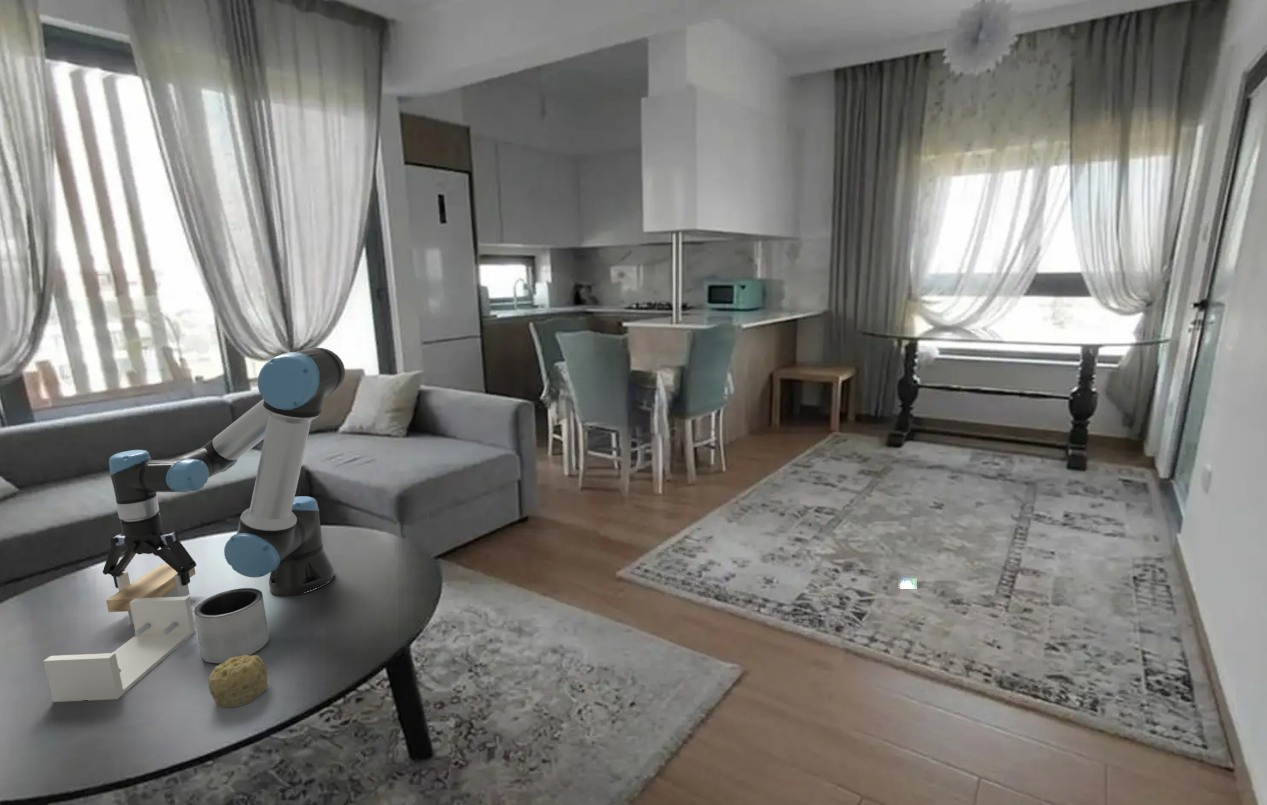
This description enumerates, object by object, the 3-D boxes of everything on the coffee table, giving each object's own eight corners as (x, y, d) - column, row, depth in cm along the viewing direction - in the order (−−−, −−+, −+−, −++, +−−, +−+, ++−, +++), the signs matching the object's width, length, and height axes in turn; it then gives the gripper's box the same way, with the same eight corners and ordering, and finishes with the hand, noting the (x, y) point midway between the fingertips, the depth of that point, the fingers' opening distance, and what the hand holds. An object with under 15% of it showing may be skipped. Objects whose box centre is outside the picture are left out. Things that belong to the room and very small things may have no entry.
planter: (197, 673, 127) (188, 623, 125) (206, 642, 138) (198, 596, 136) (268, 655, 133) (261, 607, 130) (271, 626, 144) (264, 582, 141)
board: (195, 573, 160) (193, 562, 159) (144, 610, 142) (142, 598, 142) (163, 575, 160) (161, 564, 159) (108, 612, 142) (106, 600, 141)
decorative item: (251, 695, 125) (213, 663, 123) (288, 666, 125) (250, 633, 123) (226, 729, 116) (184, 695, 114) (265, 698, 116) (224, 663, 113)
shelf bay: (195, 631, 142) (189, 596, 141) (117, 699, 120) (108, 657, 118) (141, 633, 142) (134, 598, 140) (53, 702, 119) (43, 660, 117)
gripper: (204, 508, 151) (217, 588, 155) (98, 511, 150) (114, 592, 154) (183, 519, 144) (198, 604, 148) (72, 523, 143) (90, 608, 147)
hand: (155, 598), depth 151 cm, fingers open, 13 cm apart
